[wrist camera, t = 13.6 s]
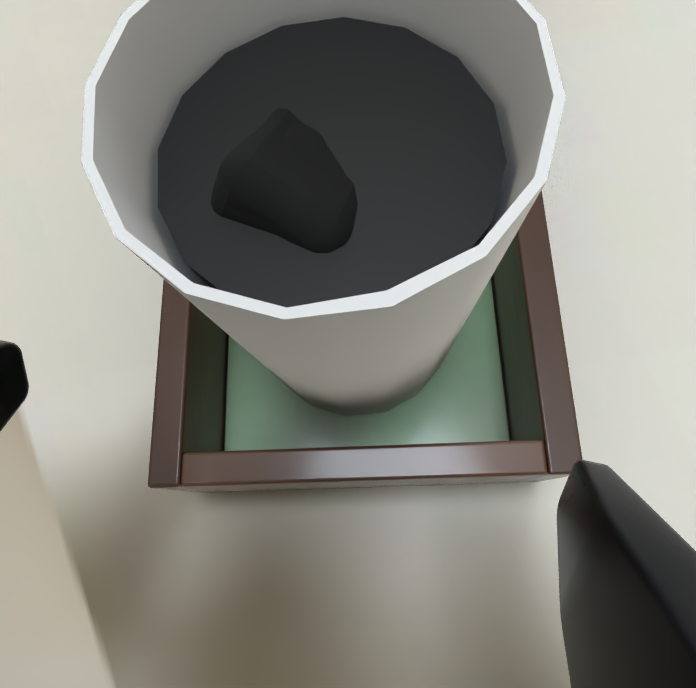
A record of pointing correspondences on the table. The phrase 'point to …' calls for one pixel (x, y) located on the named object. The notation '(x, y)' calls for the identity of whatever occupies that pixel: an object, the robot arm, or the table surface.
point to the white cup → (325, 172)
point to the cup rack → (378, 428)
